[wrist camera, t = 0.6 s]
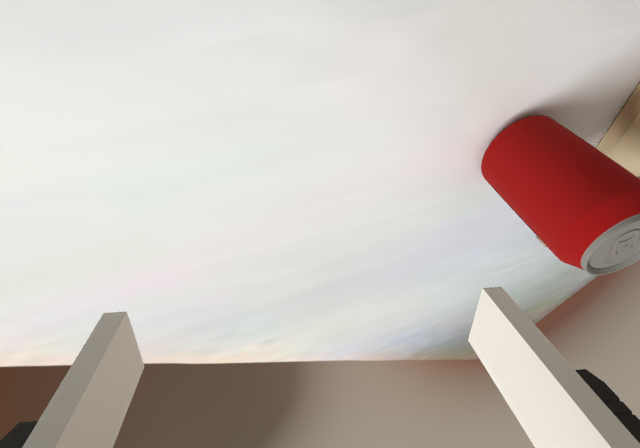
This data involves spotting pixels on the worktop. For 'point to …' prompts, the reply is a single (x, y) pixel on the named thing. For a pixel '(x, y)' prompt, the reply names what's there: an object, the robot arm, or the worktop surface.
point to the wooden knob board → (624, 137)
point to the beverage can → (567, 194)
